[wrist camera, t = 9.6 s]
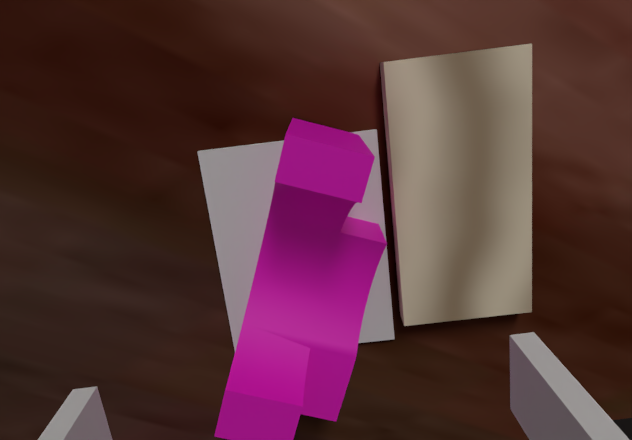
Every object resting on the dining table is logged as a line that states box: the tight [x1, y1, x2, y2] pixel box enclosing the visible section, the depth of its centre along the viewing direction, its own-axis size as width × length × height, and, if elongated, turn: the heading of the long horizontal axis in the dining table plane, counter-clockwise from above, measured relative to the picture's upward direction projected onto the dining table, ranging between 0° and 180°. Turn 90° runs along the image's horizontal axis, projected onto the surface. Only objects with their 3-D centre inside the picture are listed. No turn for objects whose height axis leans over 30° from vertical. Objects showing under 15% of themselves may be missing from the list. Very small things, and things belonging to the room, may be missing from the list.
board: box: [380, 44, 532, 326], centre depth 28 cm, size 8×15×2 cm, turn 7°
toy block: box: [214, 118, 387, 440], centre depth 26 cm, size 15×6×8 cm, turn 166°
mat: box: [198, 129, 395, 351], centre depth 30 cm, size 10×13×1 cm
